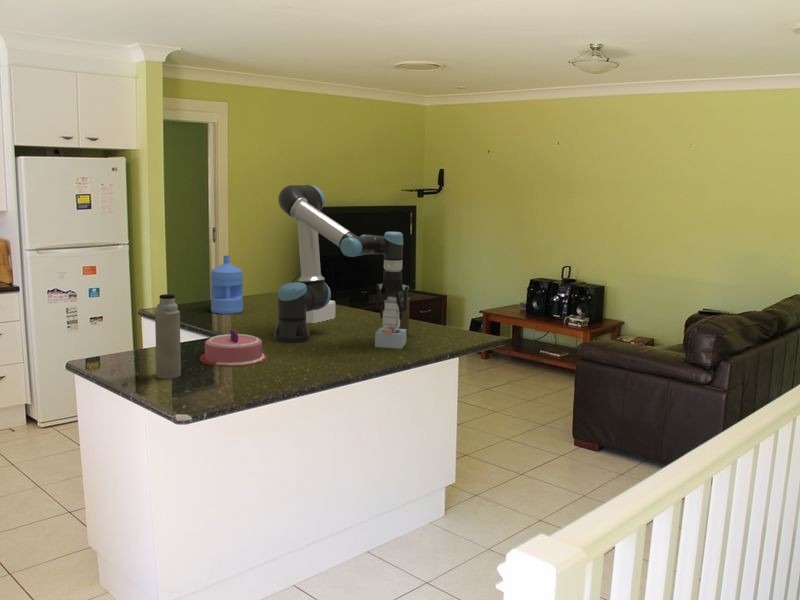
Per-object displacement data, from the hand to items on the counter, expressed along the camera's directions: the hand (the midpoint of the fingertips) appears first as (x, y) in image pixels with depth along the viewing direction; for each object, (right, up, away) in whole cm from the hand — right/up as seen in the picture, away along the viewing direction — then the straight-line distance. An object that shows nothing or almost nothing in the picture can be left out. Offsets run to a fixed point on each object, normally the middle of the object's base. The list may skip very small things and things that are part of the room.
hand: (391, 326), depth 300 cm
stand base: (0, -9, +2) cm, 9 cm away
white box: (-40, +1, +54) cm, 68 cm away
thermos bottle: (-76, -15, -50) cm, 92 cm away
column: (0, -8, +1) cm, 8 cm away
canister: (+2, -6, +21) cm, 22 cm away
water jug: (-83, +5, +66) cm, 106 cm away
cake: (-59, -12, -23) cm, 65 cm away
